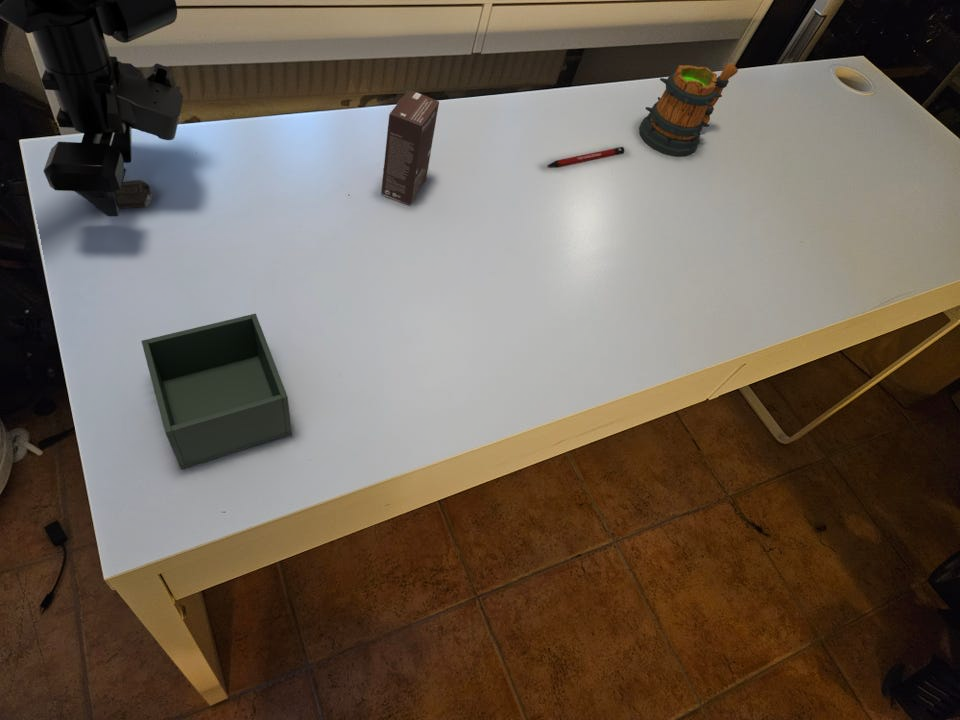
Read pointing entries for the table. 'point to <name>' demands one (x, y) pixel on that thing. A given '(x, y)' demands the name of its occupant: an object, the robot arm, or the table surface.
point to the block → (134, 194)
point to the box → (408, 146)
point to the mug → (683, 109)
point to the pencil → (587, 157)
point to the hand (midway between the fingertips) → (120, 187)
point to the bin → (217, 389)
